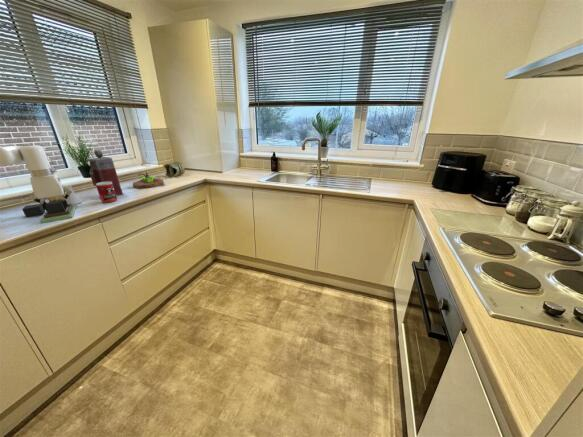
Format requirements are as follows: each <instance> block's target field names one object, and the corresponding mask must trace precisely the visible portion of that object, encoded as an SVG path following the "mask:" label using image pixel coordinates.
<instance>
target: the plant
mask: <svg viewBox="0 0 583 437" xmlns="http://www.w3.org/2000/svg"><path fill="white" fill-rule="evenodd" d="M141 175H142V177H141V178H140V176H141ZM137 176H138V177H139V180H137V181H135V182H133V183H132V187H133V188H135V189H139V190H141V189H152V188H156V187H161V186H164V185H165V183H164V179H163V178H156V177H155V176H154V175H150V176H149V170H148V169H146V170H145V174H144V173H138V175H137Z"/></svg>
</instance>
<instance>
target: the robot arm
mask: <svg viewBox="0 0 583 437" xmlns="http://www.w3.org/2000/svg"><path fill="white" fill-rule="evenodd" d="M21 163H25V166H26V167H27V170H28V172H29V174H30V177H29V179H30V185H31V189H32V192H31V194H30V195H28V199H29V200H32V201H34V202H36V203H37V204H42V206H43V208H44V210H45V212H48V211H47V209H46V207H45V205H46V204H47V203H48V202H46V198H47V197H54V196H59V197H60V198H61V199H62V203H63V205H64V208H65V209H67V206H68V203H67V201H66V199H67V198H68V197H69V195H70V194H71V193H72V191H70V190H68V189H66V188H64V187H65V186H64V185H63V183H62V181H61V179H60V178H59V176H58V175H57V174H55V173H57V172H58V170H57V169H54V168H52V166H51V164H50V162H49V159H48V157H47V154H46V151H45V149H44V147H43V146H42V145H37V144H35V145H33V144H32V145H5V146H2V145H0V166H12V165H16V164H21ZM66 192H67V193H66ZM65 193H66V194H65ZM64 194H65V195H64ZM47 199H48V198H47Z"/></svg>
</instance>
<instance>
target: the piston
mask: <svg viewBox="0 0 583 437" xmlns="http://www.w3.org/2000/svg"><path fill="white" fill-rule="evenodd" d="M163 168H165V176H166V177H167V178H168V179H173V178H175V177H176V178H177V177H179V176H183V175H184V174H185V172H186V169H185V168H186V167H185V166H184V164H183V163H182V162H180V161H174V162H170V163H166V164H164V166H163Z"/></svg>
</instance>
